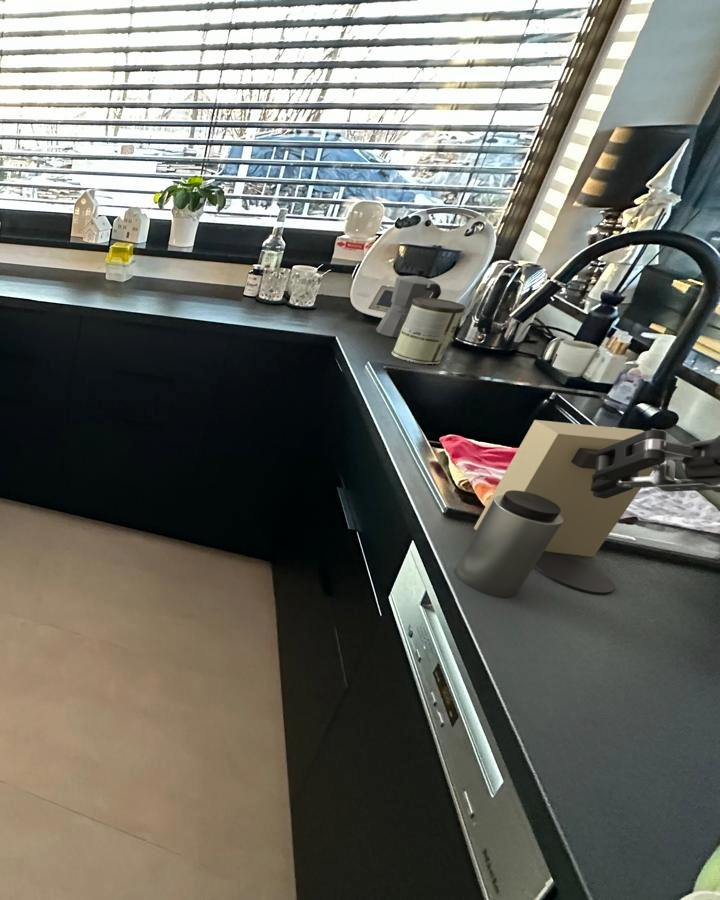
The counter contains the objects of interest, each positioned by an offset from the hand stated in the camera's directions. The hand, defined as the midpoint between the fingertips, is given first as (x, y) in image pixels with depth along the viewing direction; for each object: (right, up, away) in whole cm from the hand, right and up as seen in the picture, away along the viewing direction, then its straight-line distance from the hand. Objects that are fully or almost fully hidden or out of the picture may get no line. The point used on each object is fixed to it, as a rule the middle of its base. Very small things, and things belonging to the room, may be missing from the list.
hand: (660, 499), depth 55 cm
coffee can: (+59, +28, +101) cm, 121 cm away
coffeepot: (+68, +37, +119) cm, 142 cm away
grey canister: (+2, -13, +20) cm, 24 cm away
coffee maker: (+15, -11, +24) cm, 31 cm away
